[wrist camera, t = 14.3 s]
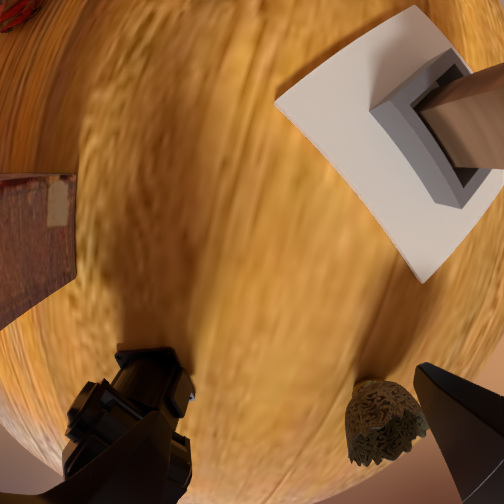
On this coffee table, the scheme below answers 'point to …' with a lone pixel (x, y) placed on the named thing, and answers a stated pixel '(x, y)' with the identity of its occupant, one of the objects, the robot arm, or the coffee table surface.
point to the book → (34, 239)
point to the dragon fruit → (15, 13)
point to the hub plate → (394, 136)
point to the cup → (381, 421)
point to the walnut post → (468, 119)
